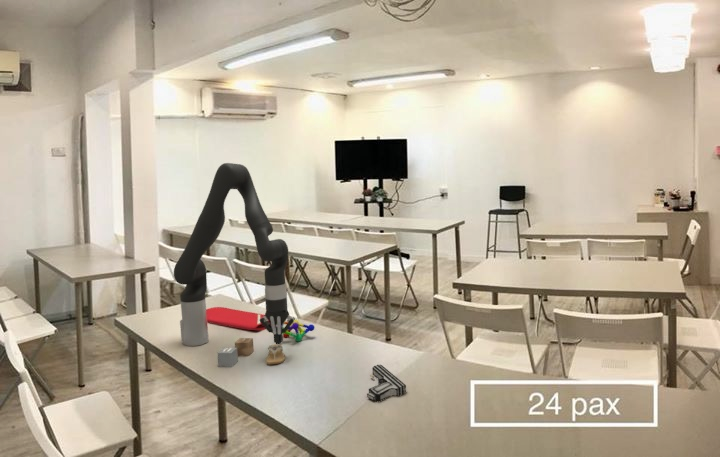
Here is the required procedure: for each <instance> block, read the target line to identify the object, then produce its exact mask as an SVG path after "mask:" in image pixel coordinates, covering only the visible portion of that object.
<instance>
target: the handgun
mask: <svg viewBox="0 0 720 457" xmlns="http://www.w3.org/2000/svg"><path fill="white" fill-rule="evenodd" d="M371 369H372V373H370V375H369V376H370V377H371V378H372V379H374V378H375V377H376V378H378V380H377V382H378V383H377V385H375V386H373V387H370V388H368V393H366V398H368V399H370V400H372V401H375V400H376V401H375V402H377V401H380V402H382V401H384V400H386V399H387V397H388V398H390V397H393V396H392V395H395V396H394V397H400V395H401V396H403V395H404V394H406V393H407V385H406V384H405V383H404V382H403V381H401V380H400V379H399V378H398V377H397V376H396V375H395V374H393V373H392V372H391V371H389V369H387V368H386V367H384V366H383V365H382V364H376V365H374V366H372V368H371ZM405 392H406V393H405ZM402 394H403V395H402ZM389 396H390V397H389ZM385 398H386V399H385ZM383 399H384V400H383ZM381 400H382V401H381Z"/></svg>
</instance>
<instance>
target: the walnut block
mask: <svg viewBox="0 0 720 457" xmlns="http://www.w3.org/2000/svg"><path fill="white" fill-rule="evenodd" d="M234 348H237V354H238V357H249V356H251V355H252V353H253V352H254V351H255V349H254V338H252V337H239V338H238V339H237V340H236V341H234Z"/></svg>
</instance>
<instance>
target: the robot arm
mask: <svg viewBox="0 0 720 457" xmlns="http://www.w3.org/2000/svg"><path fill="white" fill-rule="evenodd" d="M231 190H237V191H238V193H239V194H240V195H241V197H242V200H243V203H244V204H243V205H244V217H245V220H246V223H247V225H248V227H249V229H250V230H251V233H252V234H253V236H254V242H255V246H256V251H257V254H258V256H259V257H260V259H261V260H262V261H264V262H267V263H268V262H271V264H270V265H269V266H268V267H266V268H265V270H264V284H265V285H264V286H265V287H264V299H265V302H264V303H265V313H264V315H265V316H264V317H262V318H261V319H260V322H261V323H262V325H263V326H264V327H265V328H266V329H265V330H266V331H267V332H268V333H272V335H273V343H275V344H278V345H282V342H283V339H284V336H283V334H282V333H285V332H286V331H287V330H288V328H289V327H290V326H291V324H292V323H293V322H294V321H295V320H296V318H295V317H294V316H293V317H292V316H290V312H289V311H288V297H287V296H288V292H287V285H286V273H285V272H286V267H287V263H288V258H289V246H288V244H287V243H286V241H285V240H284V239H281V238H277V239H271V240H270V239H269V236H271V234H272V233H273V231H274V228H273V225H272V223H271V222H270V220H269V218H268V215H267V214H266V212H265V211H264V208H263V206H262V203H261V202H260V199H259V196H258V193H257V190H256V188H255V185H254V181H253V179H252V176H251V173H250V171H249V169H248V168H247V167H246V165H244V164H240V163H239V164H238V163H234V162H233V163H230V162H226V163H222V164H221V165H219V166H218V168H217V170H216V172H215V174H214V178H213V181H212V183H211V187H210V190H209V193H208V196H207V197H206V200H205V203H204V205H203V208H202V210H201V212H200V214H199V216H198V219H197V220H196V223H195V226H194V227H193V228H194V229H192V230H193V231H192V233H191V235H190V237H189V239H188V241H187V243H186V246H185V248H184V250H183V251H182V253H181V255H180V257H179V258H178V260H177V261H176V263H175V266H174V267H173V278H174V280H175V282H176V283H178V285H179V284H180V285H183V286H185V287H184V289H183V290H182V291H181V293H180V294H179V295H180V296H179V298H180V299H179V300H180V309H181V310H180V311H181V319H180V320H179V325H180V338H181V345H185V346H187V347H197V346H201V345H205V344H207V343H208V342H209V328H208V322H207V313H206V309H207V303H206V293H207V288H208V286H207V285H208V283H207V280H208V278H207V277H208V276H207V268H206V265H205V263H204V261H203V259H202V257H203V255H204V254H205V253H206V252H207V251H208V250H209V249H210V248H211V247H212V245H213V244H214V243H215V242H216V241H217V239H218V238H219V236H220V234H221V231H222V230H223V227H224V224H225V221H226V213H225V202H226V199H227V197H228V195H229V192H230V191H231ZM268 320H269V322H270V323H271V324H270V323H269V322H268ZM284 322H288V324H284ZM271 325H272V326H271ZM284 325H285V326H284ZM283 327H284V328H283Z"/></svg>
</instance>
